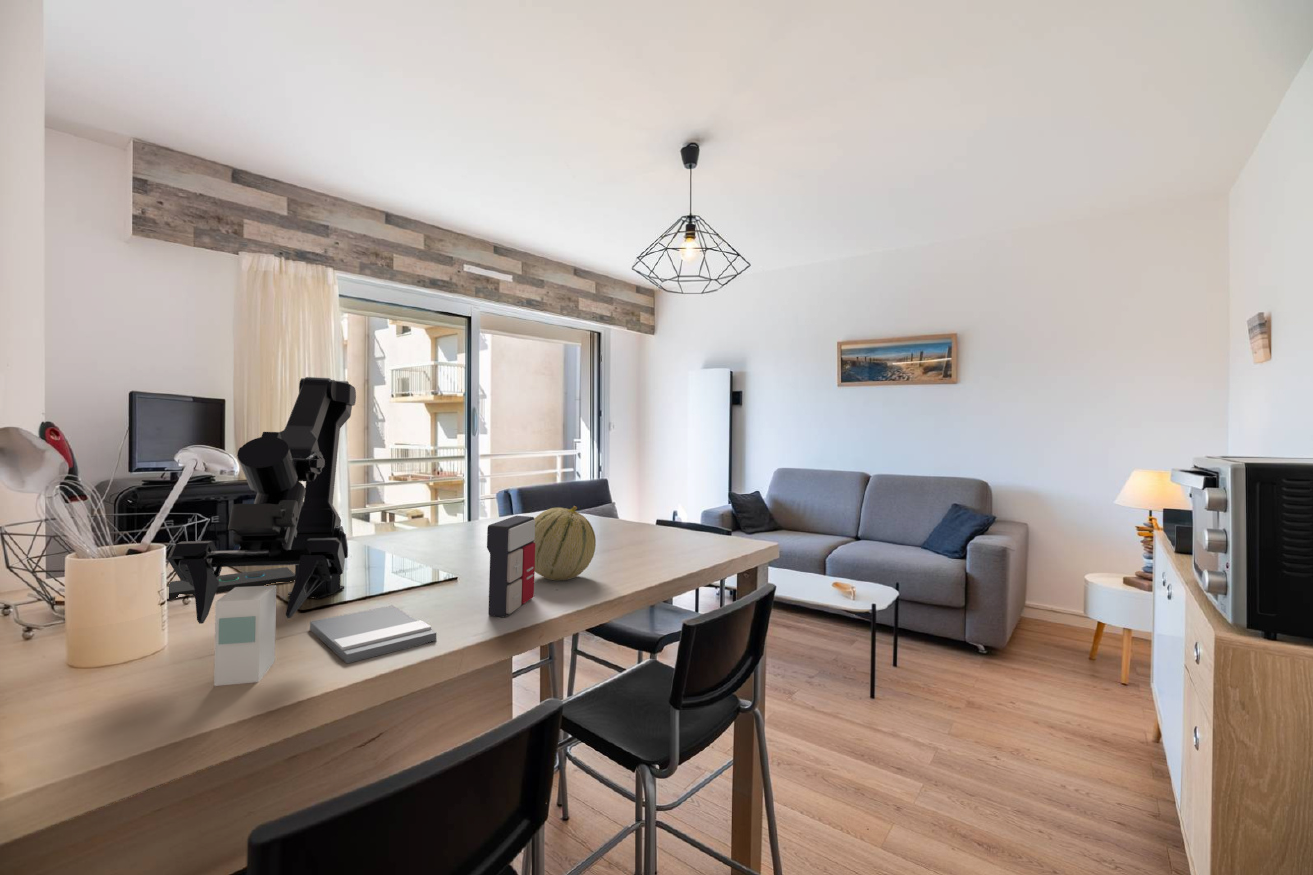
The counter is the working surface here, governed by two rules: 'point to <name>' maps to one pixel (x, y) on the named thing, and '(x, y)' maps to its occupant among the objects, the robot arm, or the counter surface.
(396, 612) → the grey flat rectangular slab
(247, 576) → the smart home device
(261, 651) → the block
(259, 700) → the counter surface
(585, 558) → the cantaloupe
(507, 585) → the grey red panelled box
